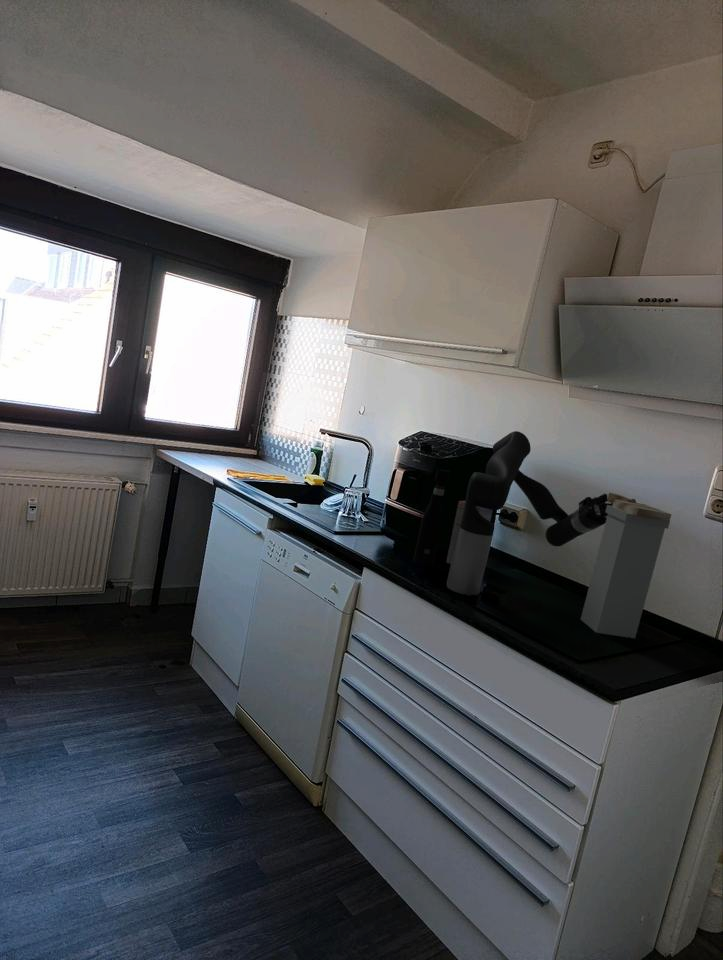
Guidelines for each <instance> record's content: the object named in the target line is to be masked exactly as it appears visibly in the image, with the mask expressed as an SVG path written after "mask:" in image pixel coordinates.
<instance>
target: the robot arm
mask: <svg viewBox="0 0 723 960" xmlns="http://www.w3.org/2000/svg"><path fill="white" fill-rule="evenodd" d="M492 451H493V454H492V456H490V459H489V460H488V462H487V464H486V466H485V472H479V471H475V472H473V473H472V475H471V476H470V478H469V481H468V484H467V489H466V495H465V500H464V501H465V506H464V511H463V516H462V520H461V525H460V529H459V534H458V538H457V543H456V547H455V552H454V553H453V557H452V561H451V565H450V564H449V565H450V566H449V570H448V574H447V579H446V587H447V589H449V590H450V591H453V592H455V593H456V594H457V593H458V594H461V595H464V594H465V595H466V596H471V595H476V596H479V595H480V593H481V592H480V591H481V588H482V583H483V580H484V575H485V572H486V571H485V570H486V566H487V562H488V558H489V553H490V548H491V545H492V542H493V541H492V540H493V537H494V532H495V524H494V523H493V522H491V520H490V521H488V520H487V519H485V518H484V517H483V516H482V515H481V514H480V513H479V512H478V510H477V506H478V507H482V508H486V509H490V510H493V511H499V510H501V509H502V508H503V507H504V506H505V504H506V502H507V499H508V497H509V493H510V490H511V487H512V484H513V482H514V483H516V485H517V486H518V487H519V488H520V490H521V491H522V492H523V494H524V495H525V496H526V498H527V499H528V501H529V502H530V505H531V506H532V507H533V509H534V511H535V512H536V513H537V516H538V517H539V518H540V520H543V521H544V520H545V521H546V520H550V519H552V520H554V521H555V522H556V523H553V524H551V525H550V526H548V527H547V529H546V531H545V539H546V541H547V543H548V544H550V545H551V546H553V547H557V548H558V547H561V546H564V545H566V544H568V543H569V542H570V541H573V540H575V539H577V537H579V536H582V535H584V534H586V533H588V532H591V531H593V530H595V529H598V528H600V527H601V526H604V525H605V523H606V519H607V515H608V513H606V508H607V505H609V506H613V504H612V503H610V502H607V500H608V494H607V493H603V494H600V495H598V496H595V497H593V498H592V497H591V496H587V497H585V498H584V499H582V500H580V502H578V508H577V509H576V510H575V511H573V512H572V513H571V514H568V513H567V512H566V511H565V510H564V509H563V508H562V507H561V506H560V505H559V504H558V503H557V501H556V499H555V498H554V496H553V495H552V493H551V492H550V489H548V488H547V487H546V485H544V484H543V483H541V482H540V481H537V480H536V479H533V478H531V477H529V476H528V475H526V474H525V473H524V472H522V471H520V468H521V466H522V465H523V462H524V460H525V459H526V458H527V456H529V454H530V453H531V443H530V440H529V439H528V437H527V435H526V434H524V433H523V432H521V431H518V430H515V431H511V432H510V433H508V434H507V435H505V436H504V437H502V438H500V440H497V441H496V442H495V443H494V444H493V445H492ZM630 499H631V500H634V501H636V499H635V498H630ZM636 502H637V501H636Z"/></svg>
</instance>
